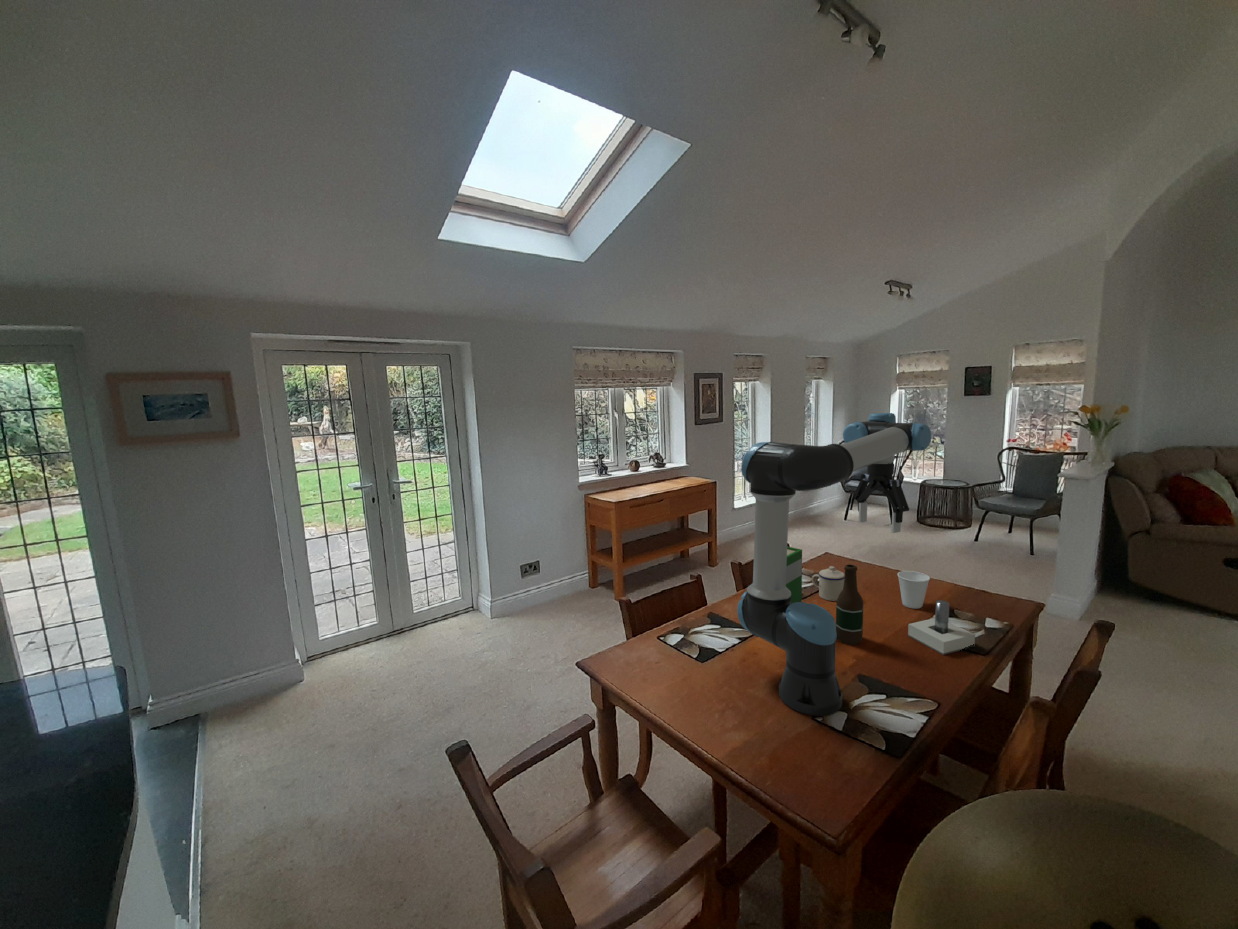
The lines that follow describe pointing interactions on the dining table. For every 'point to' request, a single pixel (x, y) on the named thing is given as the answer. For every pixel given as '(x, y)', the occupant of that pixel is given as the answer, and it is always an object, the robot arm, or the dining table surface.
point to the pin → (941, 616)
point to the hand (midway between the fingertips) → (878, 526)
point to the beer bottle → (849, 610)
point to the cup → (913, 588)
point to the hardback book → (794, 573)
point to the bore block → (941, 636)
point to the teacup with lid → (829, 583)
